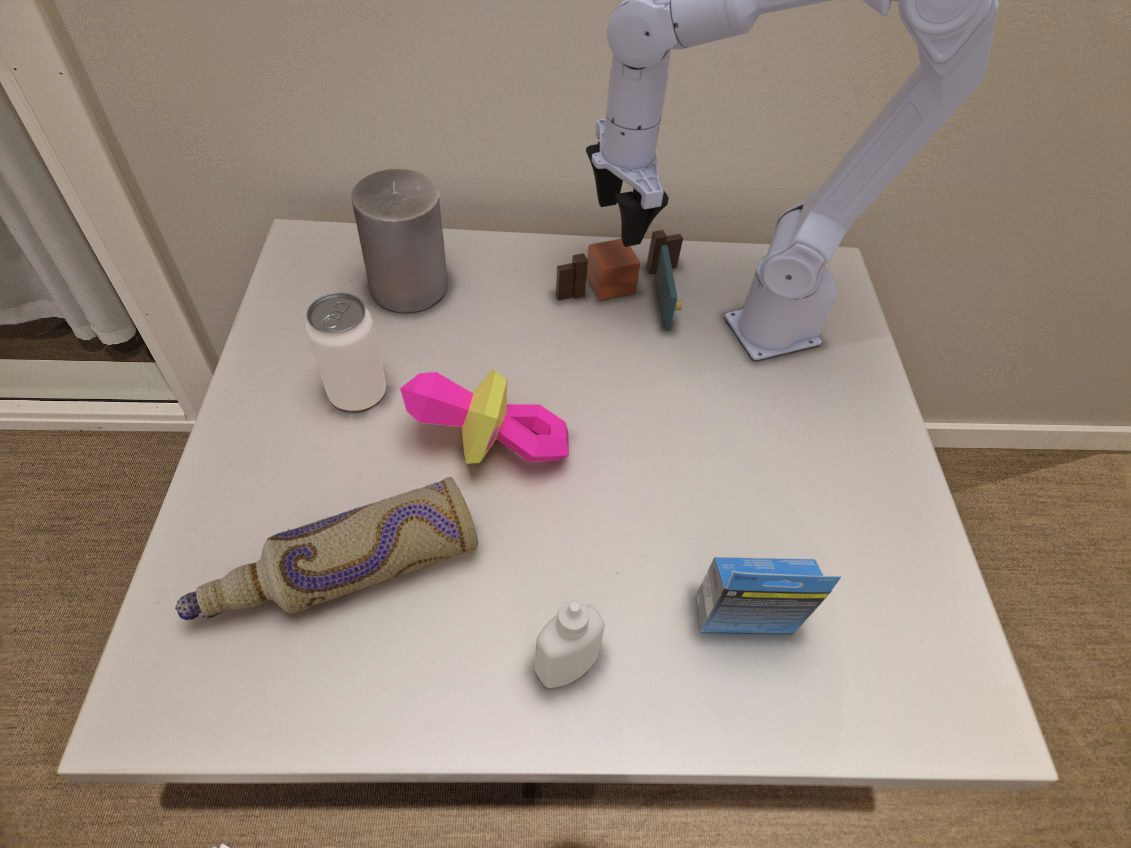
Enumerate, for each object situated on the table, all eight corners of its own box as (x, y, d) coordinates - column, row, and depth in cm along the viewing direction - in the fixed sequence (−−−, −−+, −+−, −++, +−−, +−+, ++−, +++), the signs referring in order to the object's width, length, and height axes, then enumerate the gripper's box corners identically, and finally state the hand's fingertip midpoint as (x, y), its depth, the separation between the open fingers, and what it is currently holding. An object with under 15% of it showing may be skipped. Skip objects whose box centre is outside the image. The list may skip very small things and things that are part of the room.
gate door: (663, 329, 88) (670, 297, 84) (655, 277, 94) (661, 245, 90) (678, 329, 89) (686, 298, 84) (668, 277, 94) (675, 245, 90)
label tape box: (787, 596, 68) (832, 532, 58) (796, 638, 66) (844, 578, 56) (694, 594, 68) (724, 529, 58) (699, 636, 65) (731, 576, 56)
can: (317, 406, 79) (289, 327, 70) (342, 363, 83) (319, 283, 73) (373, 419, 78) (353, 341, 69) (396, 375, 82) (380, 296, 73)
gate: (554, 295, 92) (556, 259, 87) (671, 259, 97) (678, 223, 92) (560, 304, 91) (562, 268, 86) (678, 267, 96) (686, 231, 92)
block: (621, 268, 95) (625, 237, 91) (635, 293, 93) (640, 262, 89) (585, 275, 94) (588, 244, 90) (599, 300, 91) (602, 270, 87)
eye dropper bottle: (533, 640, 64) (535, 580, 55) (596, 637, 65) (609, 578, 55) (535, 690, 62) (537, 637, 52) (600, 687, 62) (615, 633, 53)
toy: (550, 509, 74) (589, 426, 69) (376, 456, 70) (404, 365, 65) (551, 457, 82) (585, 380, 78) (395, 407, 79) (422, 323, 74)
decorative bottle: (458, 497, 73) (453, 460, 68) (482, 561, 69) (479, 527, 64) (184, 583, 66) (155, 549, 61) (193, 660, 62) (162, 630, 57)
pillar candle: (369, 264, 93) (347, 160, 81) (445, 258, 95) (435, 155, 83) (370, 317, 88) (347, 213, 76) (452, 310, 89) (442, 207, 77)
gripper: (573, 84, 78) (567, 193, 89) (624, 159, 70) (610, 268, 81) (634, 77, 80) (620, 184, 91) (690, 149, 72) (667, 257, 83)
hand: (619, 223), depth 86 cm, fingers open, 7 cm apart
